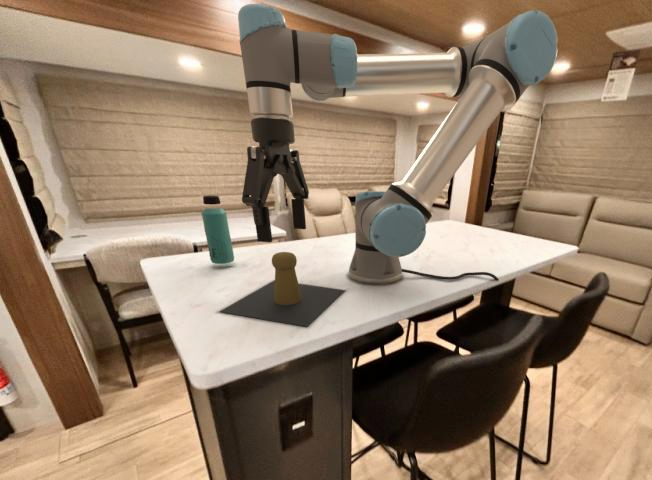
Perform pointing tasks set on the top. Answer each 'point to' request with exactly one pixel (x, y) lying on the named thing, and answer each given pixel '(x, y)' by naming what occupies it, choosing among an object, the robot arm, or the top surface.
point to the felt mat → (295, 314)
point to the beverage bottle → (217, 232)
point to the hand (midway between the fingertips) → (284, 234)
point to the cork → (285, 279)
